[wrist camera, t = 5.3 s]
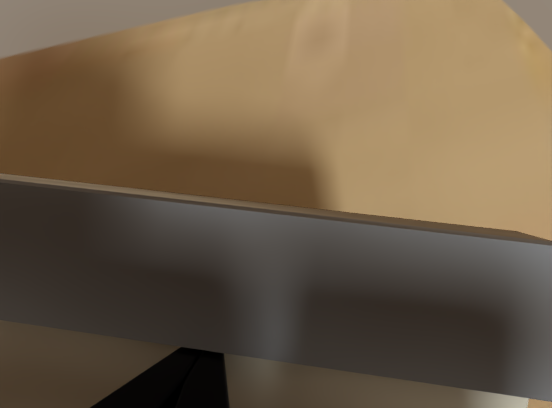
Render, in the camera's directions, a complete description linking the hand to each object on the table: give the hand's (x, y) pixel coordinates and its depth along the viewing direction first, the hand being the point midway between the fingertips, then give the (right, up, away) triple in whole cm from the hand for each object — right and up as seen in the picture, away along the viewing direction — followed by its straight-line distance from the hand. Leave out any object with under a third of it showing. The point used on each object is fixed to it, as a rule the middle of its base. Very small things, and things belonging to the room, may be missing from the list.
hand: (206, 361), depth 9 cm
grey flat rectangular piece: (0, -2, +2) cm, 3 cm away
